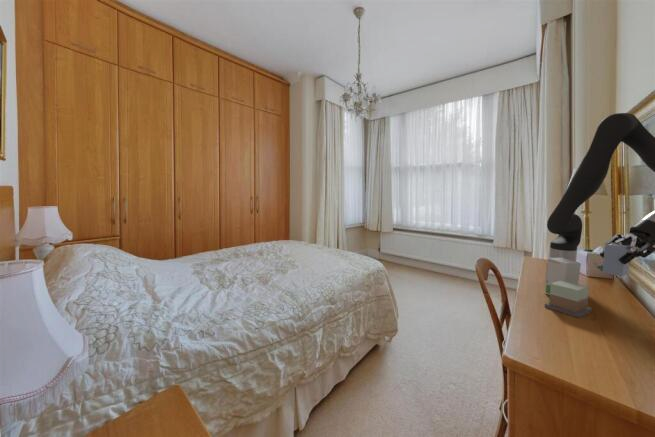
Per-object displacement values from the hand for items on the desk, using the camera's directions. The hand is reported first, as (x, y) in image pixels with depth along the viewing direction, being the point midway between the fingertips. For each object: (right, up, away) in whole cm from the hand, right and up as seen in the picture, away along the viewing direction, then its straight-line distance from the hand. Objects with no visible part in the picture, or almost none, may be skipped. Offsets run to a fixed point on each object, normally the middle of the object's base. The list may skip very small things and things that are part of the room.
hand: (611, 259), depth 93 cm
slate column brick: (+2, -5, 0) cm, 5 cm away
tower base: (-10, -19, +6) cm, 23 cm away
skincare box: (-3, -18, +17) cm, 25 cm away
